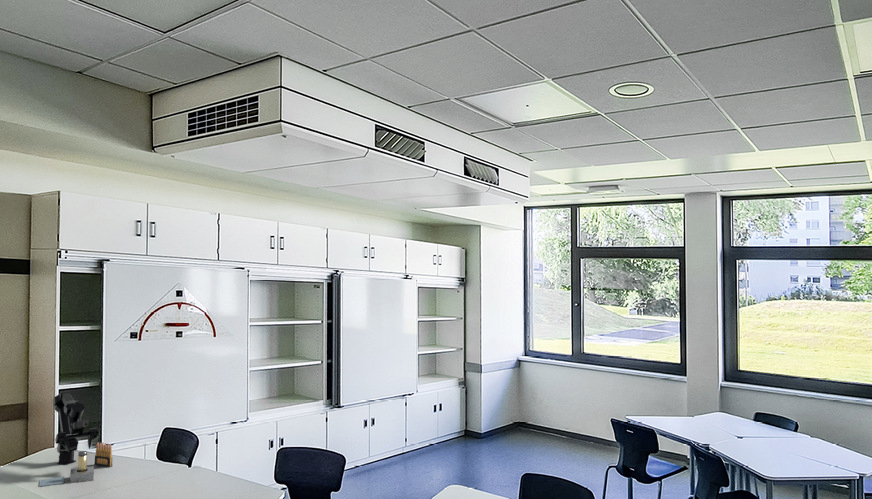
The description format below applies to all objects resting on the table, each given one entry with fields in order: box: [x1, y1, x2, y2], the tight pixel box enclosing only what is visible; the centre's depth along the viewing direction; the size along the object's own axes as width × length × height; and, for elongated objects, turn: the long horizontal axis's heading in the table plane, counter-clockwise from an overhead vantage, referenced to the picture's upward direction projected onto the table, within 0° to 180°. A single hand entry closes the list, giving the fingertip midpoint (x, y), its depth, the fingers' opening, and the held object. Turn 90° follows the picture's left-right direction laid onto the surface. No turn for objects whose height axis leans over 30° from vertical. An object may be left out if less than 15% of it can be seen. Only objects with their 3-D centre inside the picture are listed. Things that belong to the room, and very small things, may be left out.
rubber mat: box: [38, 476, 65, 488], centre depth 305 cm, size 10×10×1 cm
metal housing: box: [69, 465, 95, 484], centre depth 311 cm, size 10×10×4 cm
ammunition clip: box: [93, 441, 113, 468], centre depth 332 cm, size 11×2×12 cm, turn 70°
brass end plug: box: [77, 450, 88, 472], centre depth 311 cm, size 4×4×13 cm
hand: (79, 449), depth 316 cm, fingers open, 9 cm apart
